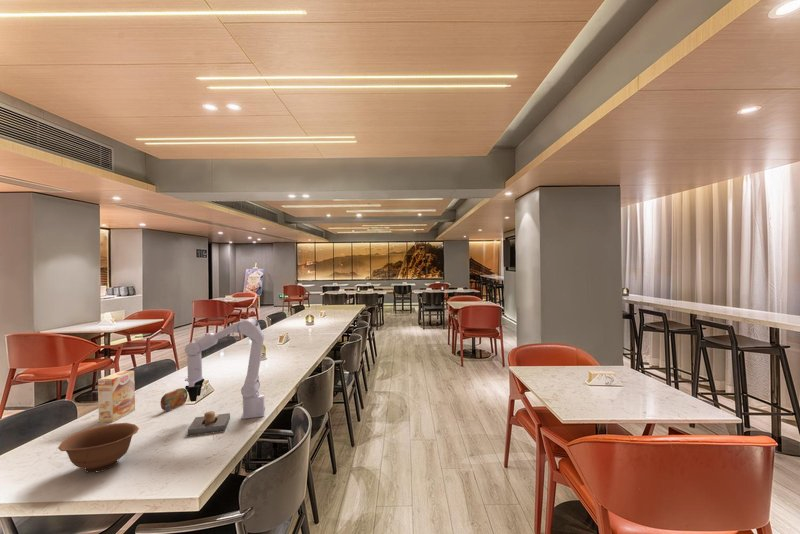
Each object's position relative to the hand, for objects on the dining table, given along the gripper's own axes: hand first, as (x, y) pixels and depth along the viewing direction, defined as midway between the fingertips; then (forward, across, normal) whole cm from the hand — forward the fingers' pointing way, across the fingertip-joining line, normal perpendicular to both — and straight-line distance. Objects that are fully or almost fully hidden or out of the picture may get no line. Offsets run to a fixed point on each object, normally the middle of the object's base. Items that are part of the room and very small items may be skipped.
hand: (195, 398), depth 174 cm
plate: (+9, +12, +8) cm, 17 cm away
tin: (+10, -22, -14) cm, 28 cm away
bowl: (+10, +35, -22) cm, 43 cm away
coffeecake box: (+10, -19, -37) cm, 43 cm away
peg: (+10, +12, +8) cm, 17 cm away
